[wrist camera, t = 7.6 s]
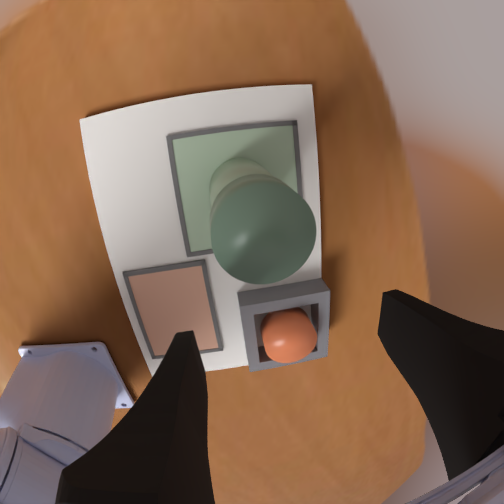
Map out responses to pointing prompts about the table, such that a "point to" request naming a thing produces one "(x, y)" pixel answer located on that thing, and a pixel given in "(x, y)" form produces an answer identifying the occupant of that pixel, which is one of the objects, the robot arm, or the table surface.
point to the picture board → (201, 216)
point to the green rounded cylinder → (258, 223)
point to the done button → (288, 335)
